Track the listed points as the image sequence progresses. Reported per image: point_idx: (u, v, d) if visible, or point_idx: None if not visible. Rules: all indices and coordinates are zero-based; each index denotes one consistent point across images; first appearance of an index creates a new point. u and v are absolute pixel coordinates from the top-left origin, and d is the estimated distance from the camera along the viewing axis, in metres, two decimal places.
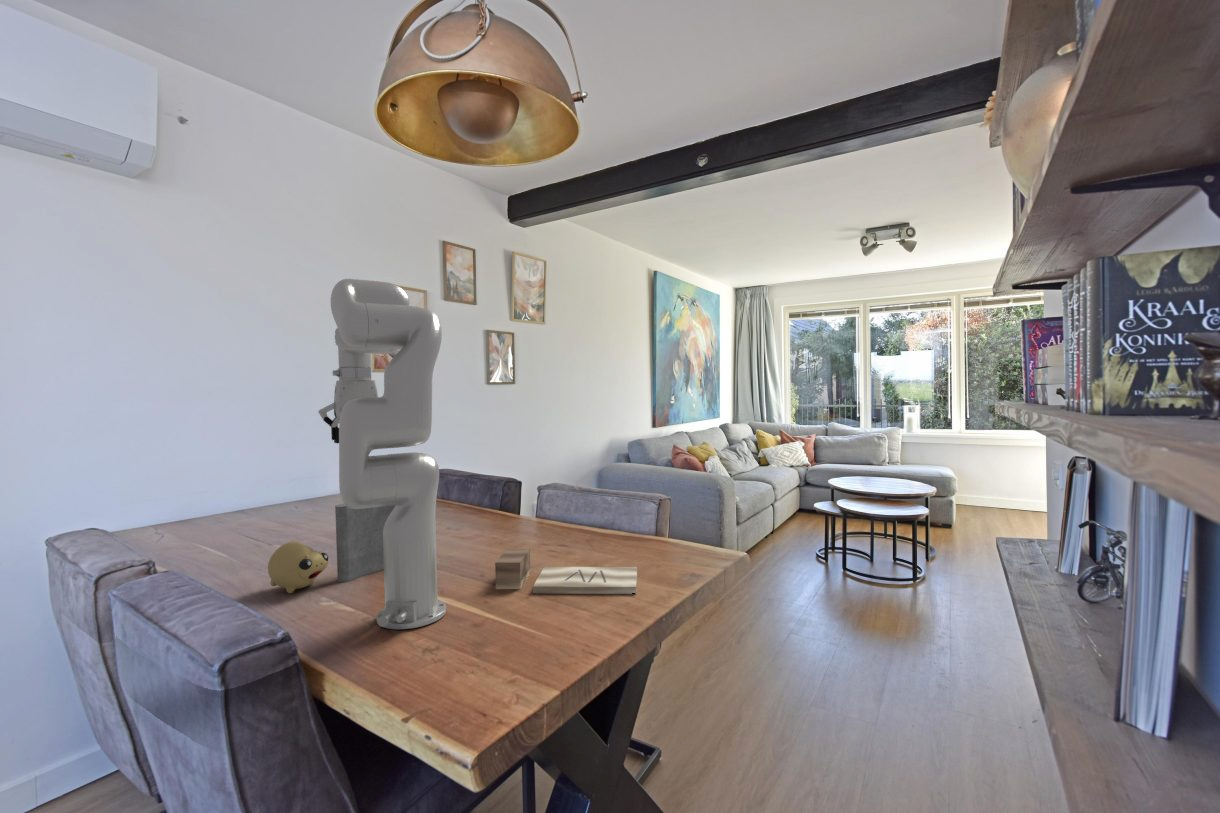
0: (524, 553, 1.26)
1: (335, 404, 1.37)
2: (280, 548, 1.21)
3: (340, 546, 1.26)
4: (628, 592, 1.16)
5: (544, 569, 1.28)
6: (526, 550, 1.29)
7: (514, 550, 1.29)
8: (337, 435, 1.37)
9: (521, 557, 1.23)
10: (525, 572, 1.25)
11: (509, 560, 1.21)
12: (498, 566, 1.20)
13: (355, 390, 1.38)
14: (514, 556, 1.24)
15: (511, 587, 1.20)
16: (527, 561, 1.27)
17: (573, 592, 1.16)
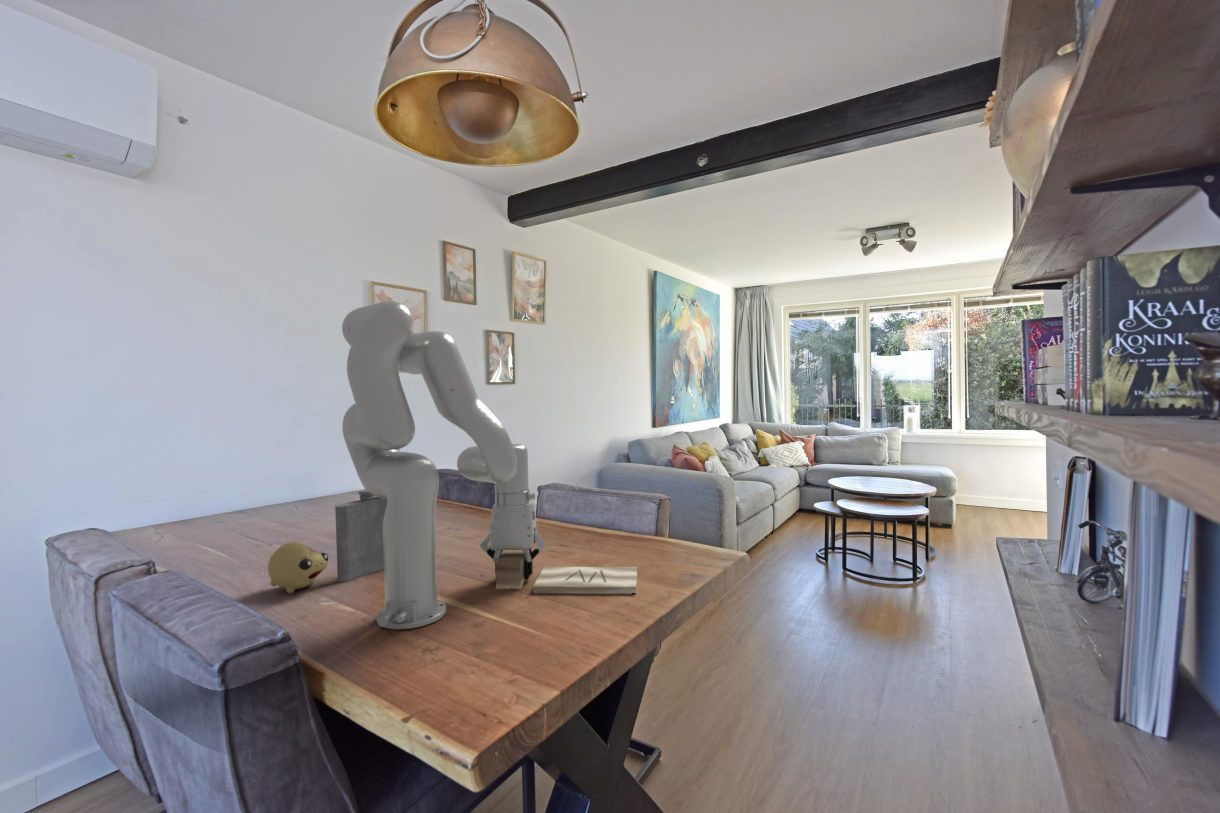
0: None
1: None
2: (280, 548, 1.21)
3: (340, 546, 1.26)
4: (628, 592, 1.16)
5: (544, 569, 1.28)
6: None
7: None
8: None
9: (521, 556, 1.23)
10: None
11: (510, 559, 1.21)
12: (498, 565, 1.20)
13: None
14: (514, 555, 1.24)
15: (511, 586, 1.20)
16: None
17: (573, 592, 1.16)
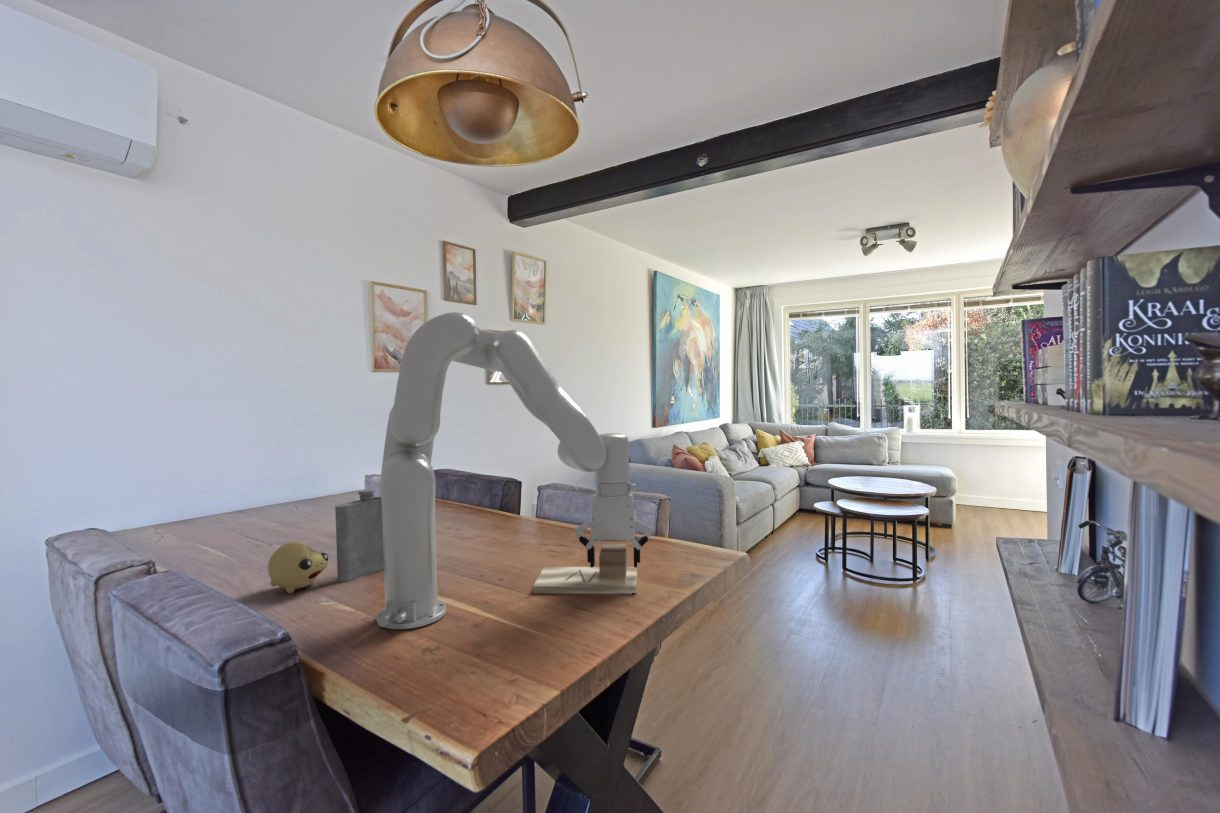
0: (623, 547, 1.24)
1: None
2: (280, 548, 1.21)
3: (340, 546, 1.26)
4: (628, 592, 1.16)
5: (544, 569, 1.28)
6: (623, 544, 1.26)
7: (611, 544, 1.26)
8: None
9: (623, 551, 1.21)
10: None
11: (613, 554, 1.19)
12: (602, 560, 1.17)
13: None
14: (615, 550, 1.22)
15: (615, 581, 1.17)
16: None
17: (573, 592, 1.16)
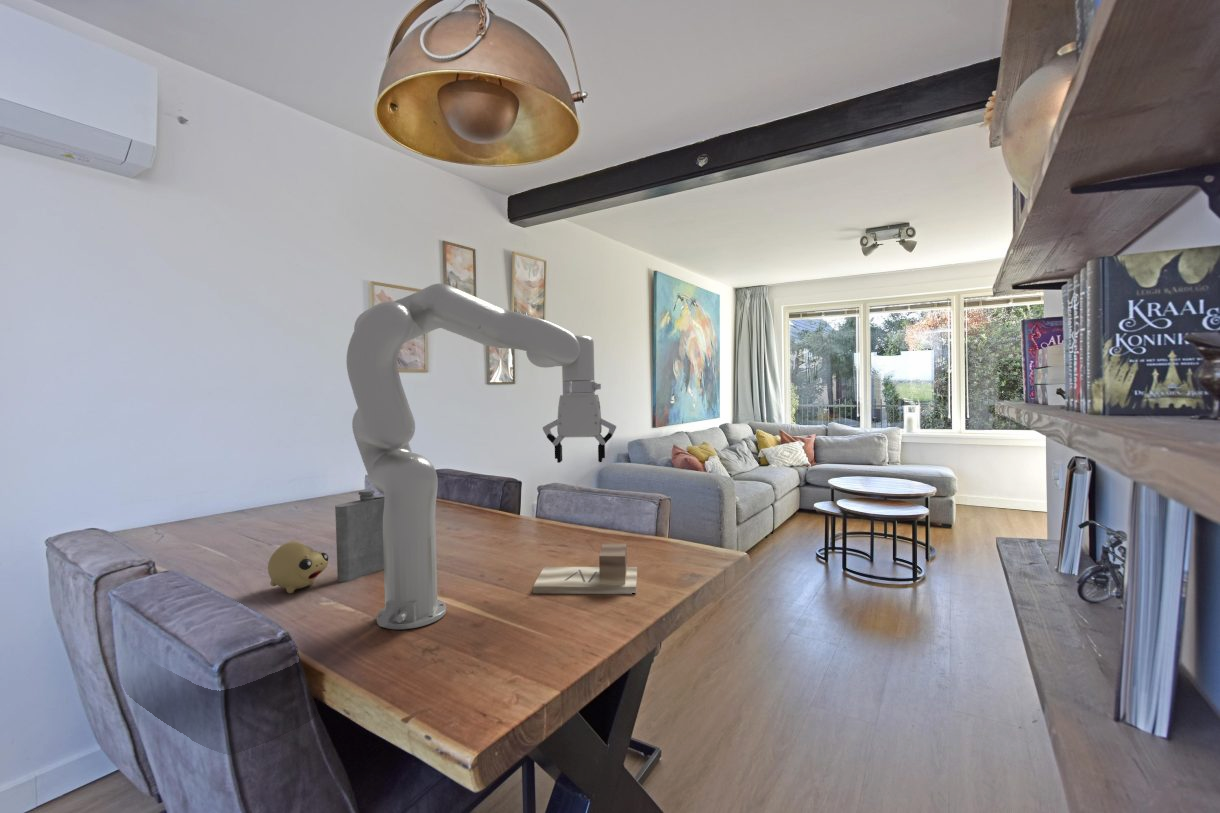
0: (623, 547, 1.24)
1: None
2: (280, 548, 1.21)
3: (340, 546, 1.26)
4: (628, 592, 1.16)
5: (544, 569, 1.28)
6: (623, 544, 1.26)
7: (611, 544, 1.26)
8: None
9: (623, 551, 1.21)
10: None
11: (613, 554, 1.19)
12: (602, 560, 1.17)
13: None
14: (615, 550, 1.22)
15: (615, 581, 1.17)
16: None
17: (573, 592, 1.16)
